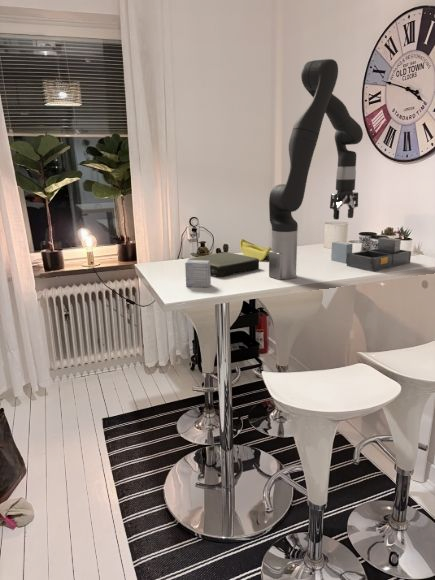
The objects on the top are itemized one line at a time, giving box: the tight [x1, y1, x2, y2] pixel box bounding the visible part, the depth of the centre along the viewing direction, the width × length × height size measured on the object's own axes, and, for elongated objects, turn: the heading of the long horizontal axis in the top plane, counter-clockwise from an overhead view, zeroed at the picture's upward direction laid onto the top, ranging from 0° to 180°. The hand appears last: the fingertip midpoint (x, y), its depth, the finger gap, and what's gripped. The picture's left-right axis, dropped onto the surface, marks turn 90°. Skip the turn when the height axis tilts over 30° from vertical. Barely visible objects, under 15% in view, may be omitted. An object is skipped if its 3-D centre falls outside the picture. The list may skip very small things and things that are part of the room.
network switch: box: [187, 251, 260, 278], centre depth 171 cm, size 23×23×5 cm
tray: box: [346, 236, 412, 273], centre depth 172 cm, size 24×13×10 cm, turn 123°
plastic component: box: [239, 238, 272, 262], centre depth 194 cm, size 20×7×10 cm
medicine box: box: [184, 260, 212, 288], centre depth 146 cm, size 8×4×9 cm, turn 78°
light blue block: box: [330, 241, 353, 265], centre depth 180 cm, size 4×8×8 cm, turn 33°
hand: (343, 218), depth 176 cm, fingers open, 8 cm apart
